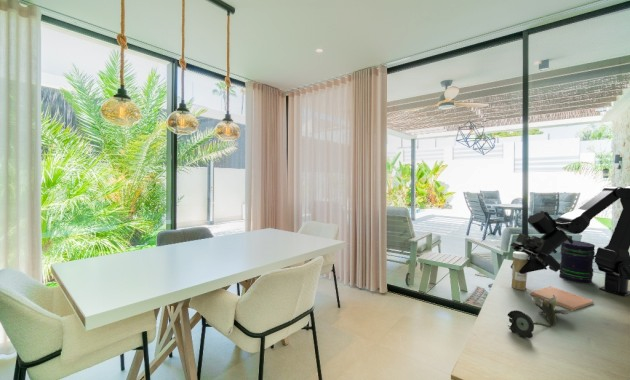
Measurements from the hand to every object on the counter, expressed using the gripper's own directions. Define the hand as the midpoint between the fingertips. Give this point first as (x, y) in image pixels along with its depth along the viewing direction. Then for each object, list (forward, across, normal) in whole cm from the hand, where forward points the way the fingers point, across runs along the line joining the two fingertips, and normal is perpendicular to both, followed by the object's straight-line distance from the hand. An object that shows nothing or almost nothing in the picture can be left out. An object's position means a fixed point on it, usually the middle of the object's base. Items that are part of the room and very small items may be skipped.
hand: (515, 270), depth 100 cm
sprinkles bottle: (+4, 0, +6) cm, 7 cm away
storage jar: (-17, -11, +26) cm, 33 cm away
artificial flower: (+12, +25, -2) cm, 28 cm away
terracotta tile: (-2, +8, +12) cm, 14 cm away
